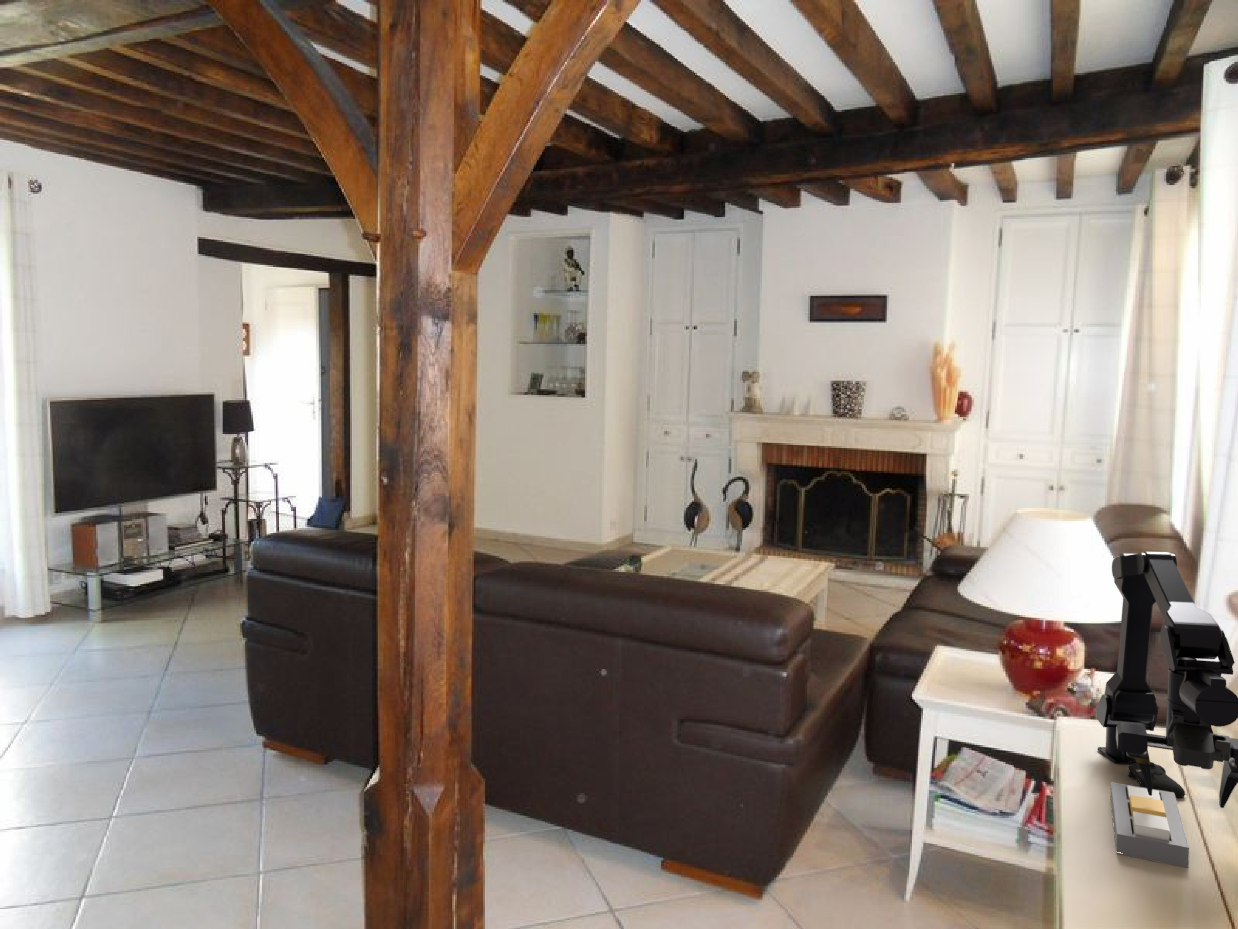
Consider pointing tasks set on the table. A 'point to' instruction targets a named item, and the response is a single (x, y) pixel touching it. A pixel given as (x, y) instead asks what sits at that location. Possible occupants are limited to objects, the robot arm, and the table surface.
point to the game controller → (1157, 779)
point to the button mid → (1146, 806)
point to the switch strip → (1142, 845)
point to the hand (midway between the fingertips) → (1185, 800)
